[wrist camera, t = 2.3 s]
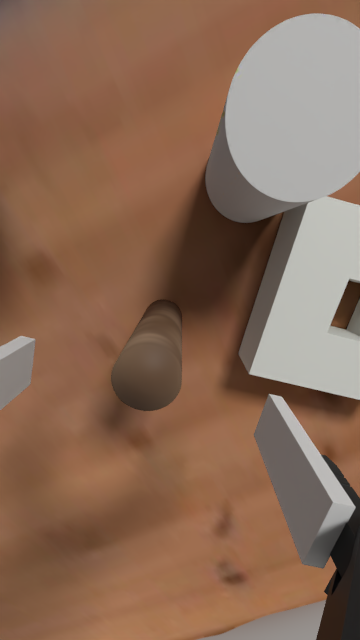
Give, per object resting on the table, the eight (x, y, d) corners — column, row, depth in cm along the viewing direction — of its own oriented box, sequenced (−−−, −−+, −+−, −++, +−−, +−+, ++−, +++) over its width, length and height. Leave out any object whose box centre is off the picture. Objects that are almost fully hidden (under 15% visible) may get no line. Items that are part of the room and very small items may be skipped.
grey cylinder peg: (279, 111, 24) (372, -20, 12) (301, 204, 26) (399, 167, 14) (193, 148, 24) (203, 58, 13) (221, 235, 26) (251, 225, 15)
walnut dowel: (141, 330, 29) (105, 402, 16) (149, 295, 28) (118, 339, 14) (177, 339, 29) (172, 417, 16) (186, 304, 28) (189, 356, 15)
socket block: (238, 353, 30) (248, 374, 25) (287, 203, 26) (311, 192, 21) (372, 385, 30) (407, 411, 26) (440, 244, 26) (497, 243, 22)
